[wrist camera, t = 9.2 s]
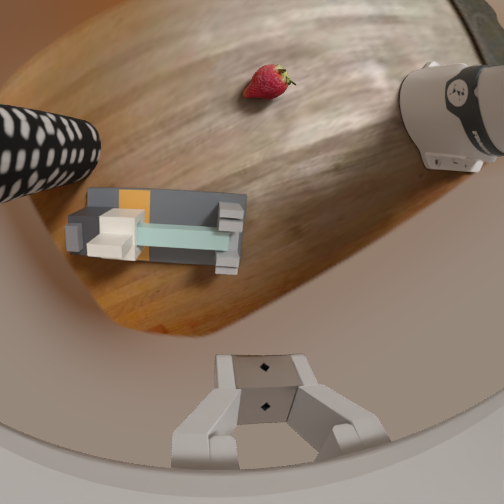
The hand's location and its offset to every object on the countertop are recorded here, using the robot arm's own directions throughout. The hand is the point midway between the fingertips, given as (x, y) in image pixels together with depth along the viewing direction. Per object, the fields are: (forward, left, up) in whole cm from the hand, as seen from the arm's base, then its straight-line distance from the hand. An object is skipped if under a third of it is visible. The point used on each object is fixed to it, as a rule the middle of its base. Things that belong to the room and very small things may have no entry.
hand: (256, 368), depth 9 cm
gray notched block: (-1, +2, -27) cm, 27 cm away
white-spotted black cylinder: (+20, -7, -27) cm, 35 cm away
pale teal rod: (+8, +2, -24) cm, 25 cm away
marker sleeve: (+11, +2, -25) cm, 27 cm away
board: (+7, +2, -27) cm, 28 cm away
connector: (+15, +2, -27) cm, 31 cm away
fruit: (-3, -16, -27) cm, 32 cm away
